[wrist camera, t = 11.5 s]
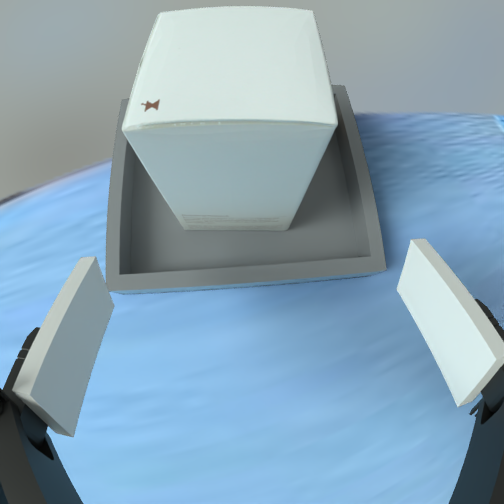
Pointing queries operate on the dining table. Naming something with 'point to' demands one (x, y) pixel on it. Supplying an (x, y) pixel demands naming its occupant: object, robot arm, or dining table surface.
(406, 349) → the dining table surface
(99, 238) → the dining table surface
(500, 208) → the dining table surface
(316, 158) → the supplement box
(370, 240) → the tray
